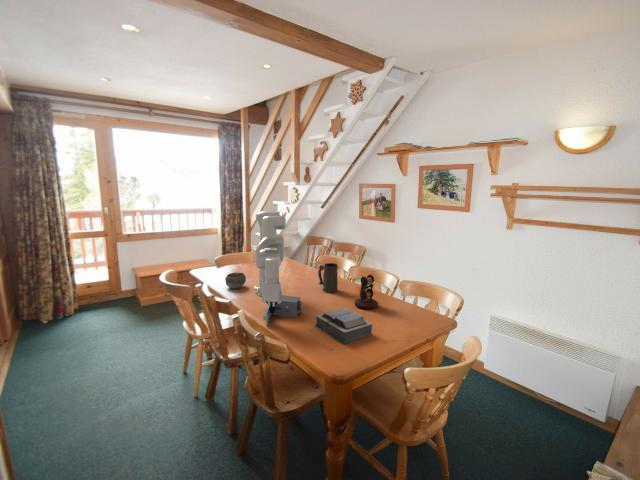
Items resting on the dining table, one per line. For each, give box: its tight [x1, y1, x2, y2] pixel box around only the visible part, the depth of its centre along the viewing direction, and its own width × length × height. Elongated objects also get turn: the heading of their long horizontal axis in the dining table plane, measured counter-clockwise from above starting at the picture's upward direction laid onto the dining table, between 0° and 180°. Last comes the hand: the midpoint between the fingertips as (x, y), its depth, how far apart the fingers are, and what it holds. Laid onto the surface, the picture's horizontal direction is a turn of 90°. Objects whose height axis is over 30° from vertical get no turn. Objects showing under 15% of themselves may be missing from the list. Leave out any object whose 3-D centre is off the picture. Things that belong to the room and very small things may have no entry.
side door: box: [262, 305, 272, 325], centre depth 176 cm, size 14×2×7 cm, turn 1°
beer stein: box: [317, 262, 339, 294], centre depth 228 cm, size 15×11×20 cm
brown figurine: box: [354, 274, 379, 310], centre depth 200 cm, size 15×15×20 cm
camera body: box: [270, 294, 304, 318], centre depth 186 cm, size 18×9×10 cm, turn 80°
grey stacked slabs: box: [315, 307, 373, 345], centre depth 166 cm, size 23×27×10 cm
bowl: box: [224, 271, 247, 290], centre depth 230 cm, size 14×15×10 cm
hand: (272, 312), depth 174 cm, fingers closed
